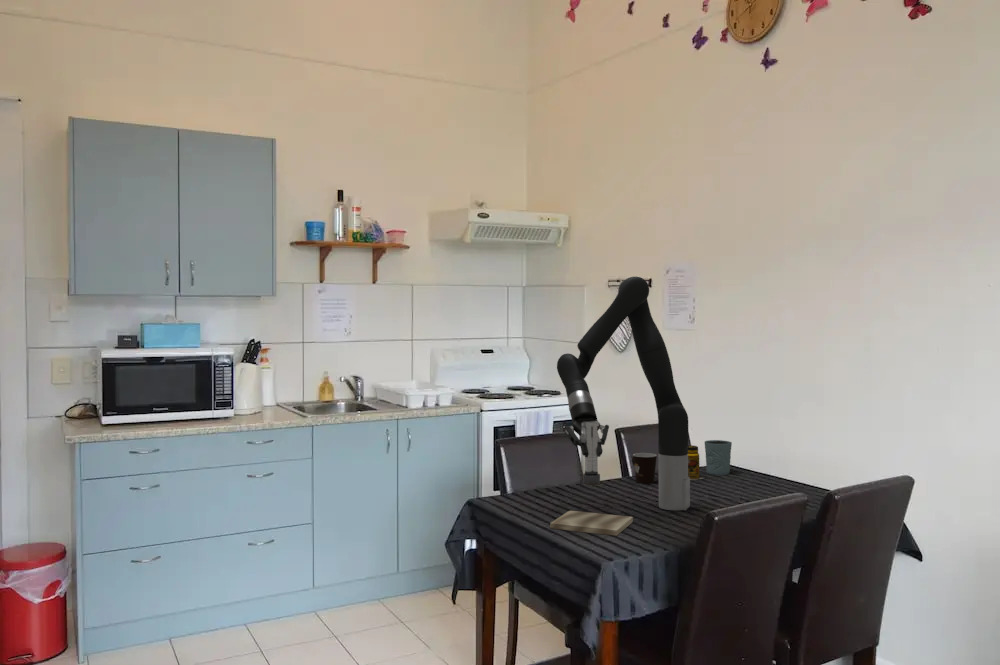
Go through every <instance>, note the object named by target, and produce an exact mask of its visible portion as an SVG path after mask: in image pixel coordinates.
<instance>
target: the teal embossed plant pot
mask: <svg viewBox="0 0 1000 665" xmlns="http://www.w3.org/2000/svg"><path fill="white" fill-rule="evenodd" d="M704 450H705V464H706V466H705V467H706V473H707V474H708V473H709V475H716V476H726V475H730V472H731V454H732V453H731V452H732V441H729V440H722V439H714V440H713V439H711V440H705V441H704Z"/></svg>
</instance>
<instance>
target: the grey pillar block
mask: <svg viewBox="0 0 1000 665" xmlns="http://www.w3.org/2000/svg"><path fill="white" fill-rule="evenodd" d="M599 423H600V422H599V421H583V426H585V443H586V445H587V448H588V452H589V454H588V457H585V456H584V472H583V473H582V484H584V485H590V486H591V485H593V486H595V485H599V484H601V474H600V473H599V471H598V461H599V460H598V458H599V457H597V432H598V431H597V426H599Z"/></svg>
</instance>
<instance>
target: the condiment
mask: <svg viewBox="0 0 1000 665" xmlns="http://www.w3.org/2000/svg"><path fill="white" fill-rule="evenodd" d="M688 477H690V481H695V480H702V479H704V477H702V476H700V454H699V447H698V445H692V444H691V445H689V444H688Z"/></svg>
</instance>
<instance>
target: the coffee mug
mask: <svg viewBox="0 0 1000 665" xmlns="http://www.w3.org/2000/svg"><path fill="white" fill-rule="evenodd" d="M657 457H658V455H657V454H656V453H650V452H637V453H633V454H632V457H631V458H632V459H631V462H632V465H633V467H634V468H633V469H634V476H635V483H637V482H638V483H637V484H640V483H644V484H643V485H651V484H650V483H652V484H654V483H655V476H656V466H657Z"/></svg>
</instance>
